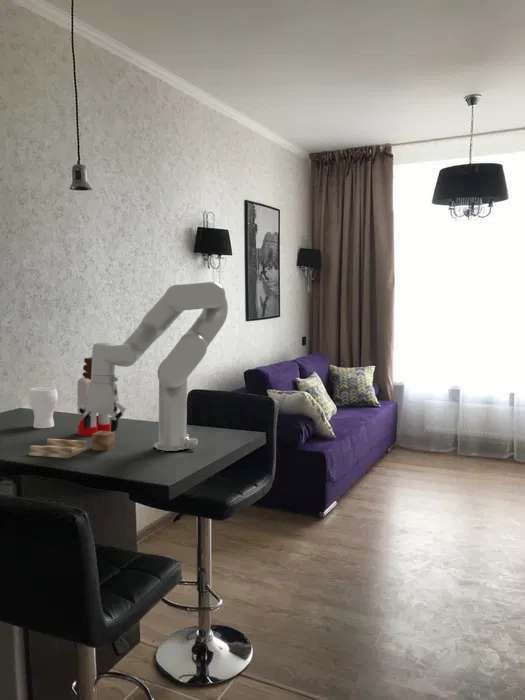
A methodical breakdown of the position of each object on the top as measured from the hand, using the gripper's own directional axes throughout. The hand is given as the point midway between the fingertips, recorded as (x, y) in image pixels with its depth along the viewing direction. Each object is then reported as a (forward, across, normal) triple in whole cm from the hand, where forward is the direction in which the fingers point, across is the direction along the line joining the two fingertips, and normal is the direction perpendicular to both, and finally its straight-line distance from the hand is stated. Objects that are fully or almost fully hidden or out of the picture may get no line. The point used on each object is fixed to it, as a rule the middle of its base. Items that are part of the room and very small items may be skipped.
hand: (100, 429), depth 192 cm
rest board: (+7, +11, +8) cm, 15 cm away
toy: (+7, +13, -21) cm, 26 cm away
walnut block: (+7, -1, 0) cm, 7 cm away
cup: (+8, +37, -25) cm, 45 cm away
